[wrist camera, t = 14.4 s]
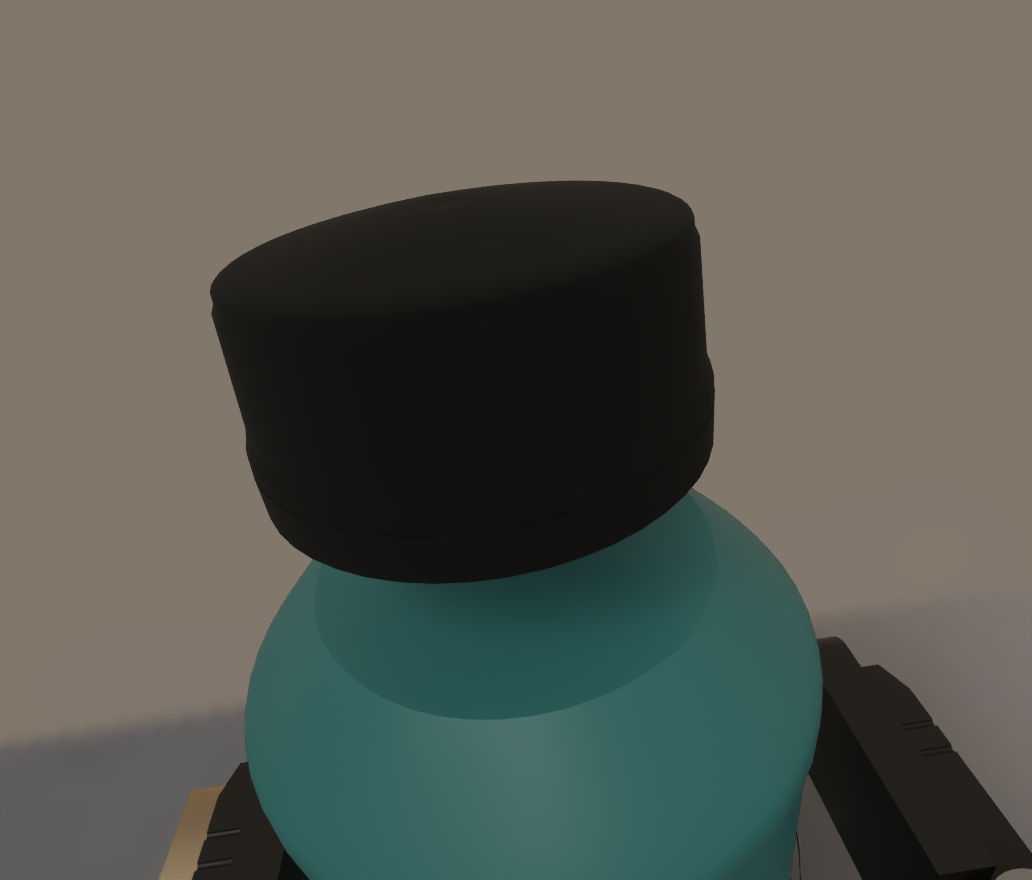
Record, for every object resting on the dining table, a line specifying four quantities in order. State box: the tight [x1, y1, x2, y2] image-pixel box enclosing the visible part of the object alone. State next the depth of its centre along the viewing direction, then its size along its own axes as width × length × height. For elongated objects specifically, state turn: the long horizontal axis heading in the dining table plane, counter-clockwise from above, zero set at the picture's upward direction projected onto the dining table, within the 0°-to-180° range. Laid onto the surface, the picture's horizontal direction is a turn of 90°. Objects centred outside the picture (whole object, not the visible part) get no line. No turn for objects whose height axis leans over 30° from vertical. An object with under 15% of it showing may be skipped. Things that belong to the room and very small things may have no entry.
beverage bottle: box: [210, 181, 823, 880], centre depth 10 cm, size 6×7×20 cm
